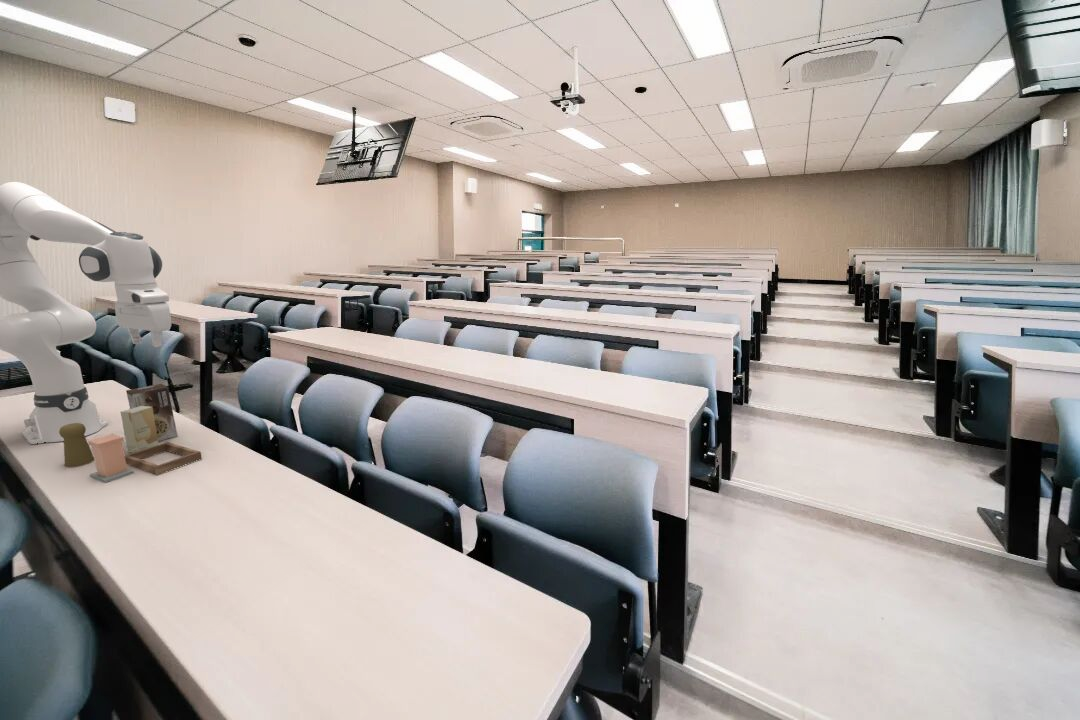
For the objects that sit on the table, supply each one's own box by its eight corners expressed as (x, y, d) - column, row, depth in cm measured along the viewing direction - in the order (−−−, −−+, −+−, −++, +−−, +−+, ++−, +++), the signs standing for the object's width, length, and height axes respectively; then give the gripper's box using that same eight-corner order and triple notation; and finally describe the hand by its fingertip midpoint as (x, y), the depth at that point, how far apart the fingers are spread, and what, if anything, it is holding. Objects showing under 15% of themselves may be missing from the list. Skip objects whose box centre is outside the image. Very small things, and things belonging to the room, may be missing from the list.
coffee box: (171, 431, 158) (162, 383, 154) (178, 436, 154) (169, 386, 151) (135, 440, 151) (125, 389, 148) (141, 445, 147) (131, 393, 144)
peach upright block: (95, 474, 128) (87, 440, 125) (119, 466, 132) (112, 433, 130) (105, 478, 125) (98, 444, 123) (129, 470, 130) (123, 437, 128)
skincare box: (139, 453, 141) (130, 413, 139) (127, 452, 142) (118, 412, 140) (160, 445, 148) (153, 406, 145) (148, 443, 149) (141, 404, 146)
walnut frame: (124, 463, 135) (123, 456, 135) (168, 449, 145) (167, 441, 144) (157, 475, 128) (155, 467, 128) (201, 459, 138) (200, 451, 137)
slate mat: (90, 476, 128) (89, 474, 128) (117, 467, 133) (117, 465, 133) (106, 482, 124) (105, 480, 124) (133, 473, 129) (133, 470, 129)
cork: (63, 462, 136) (54, 424, 133) (93, 456, 140) (84, 419, 138) (65, 469, 132) (56, 430, 129) (95, 462, 136) (87, 424, 134)
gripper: (103, 294, 135) (113, 344, 138) (145, 297, 126) (154, 350, 129) (130, 292, 141) (139, 340, 144) (172, 295, 132) (180, 346, 135)
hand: (147, 345), depth 136 cm, fingers open, 8 cm apart
